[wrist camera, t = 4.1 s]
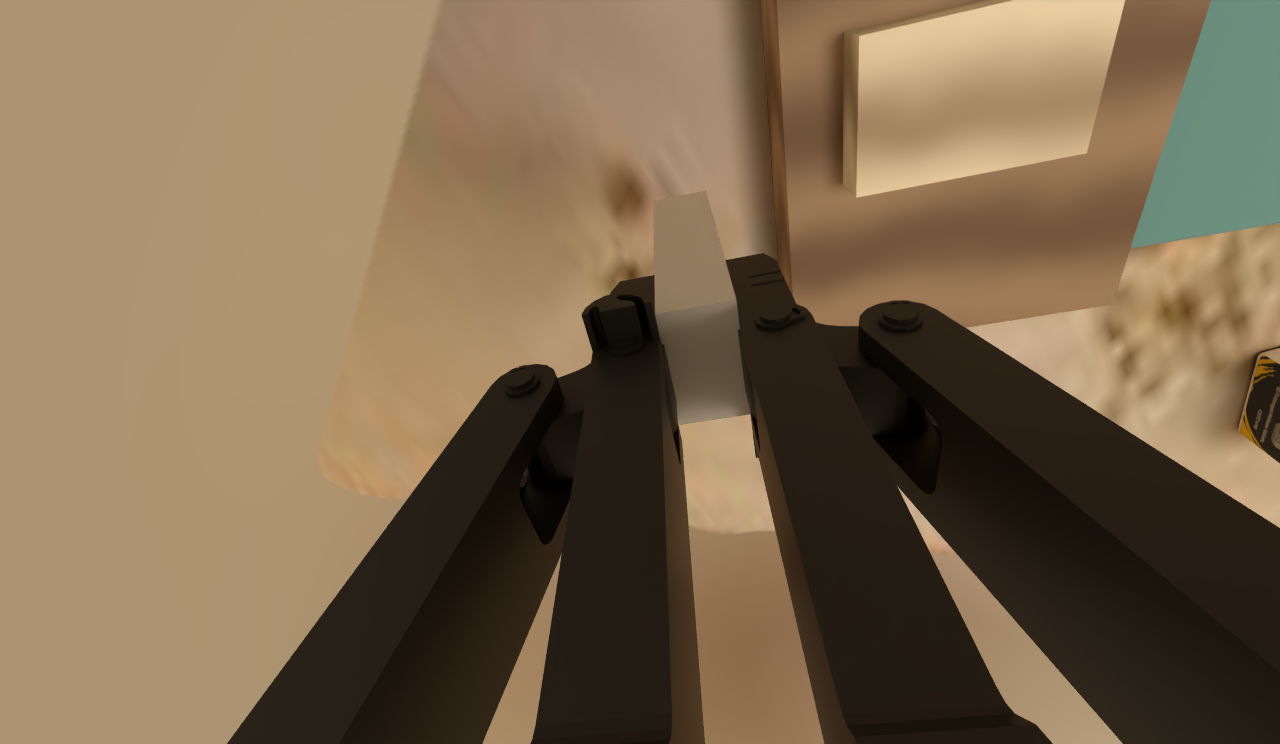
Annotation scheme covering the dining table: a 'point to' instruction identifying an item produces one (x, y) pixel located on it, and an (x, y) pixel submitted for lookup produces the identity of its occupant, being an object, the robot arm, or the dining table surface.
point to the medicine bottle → (1264, 405)
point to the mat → (1222, 131)
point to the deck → (963, 180)
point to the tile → (972, 90)
